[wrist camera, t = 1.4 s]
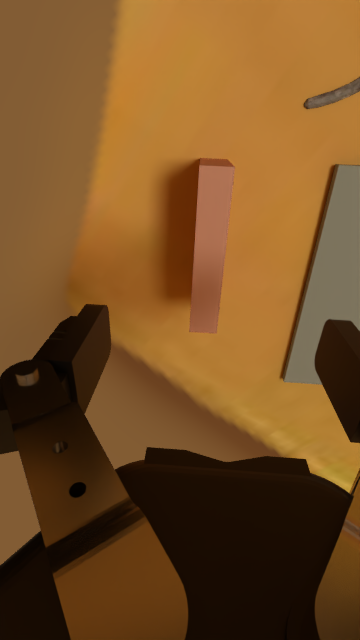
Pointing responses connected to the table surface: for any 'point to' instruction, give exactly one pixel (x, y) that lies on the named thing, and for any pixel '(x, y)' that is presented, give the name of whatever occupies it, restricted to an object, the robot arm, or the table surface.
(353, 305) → the mat
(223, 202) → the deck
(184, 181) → the table surface
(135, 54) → the table surface
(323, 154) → the table surface
